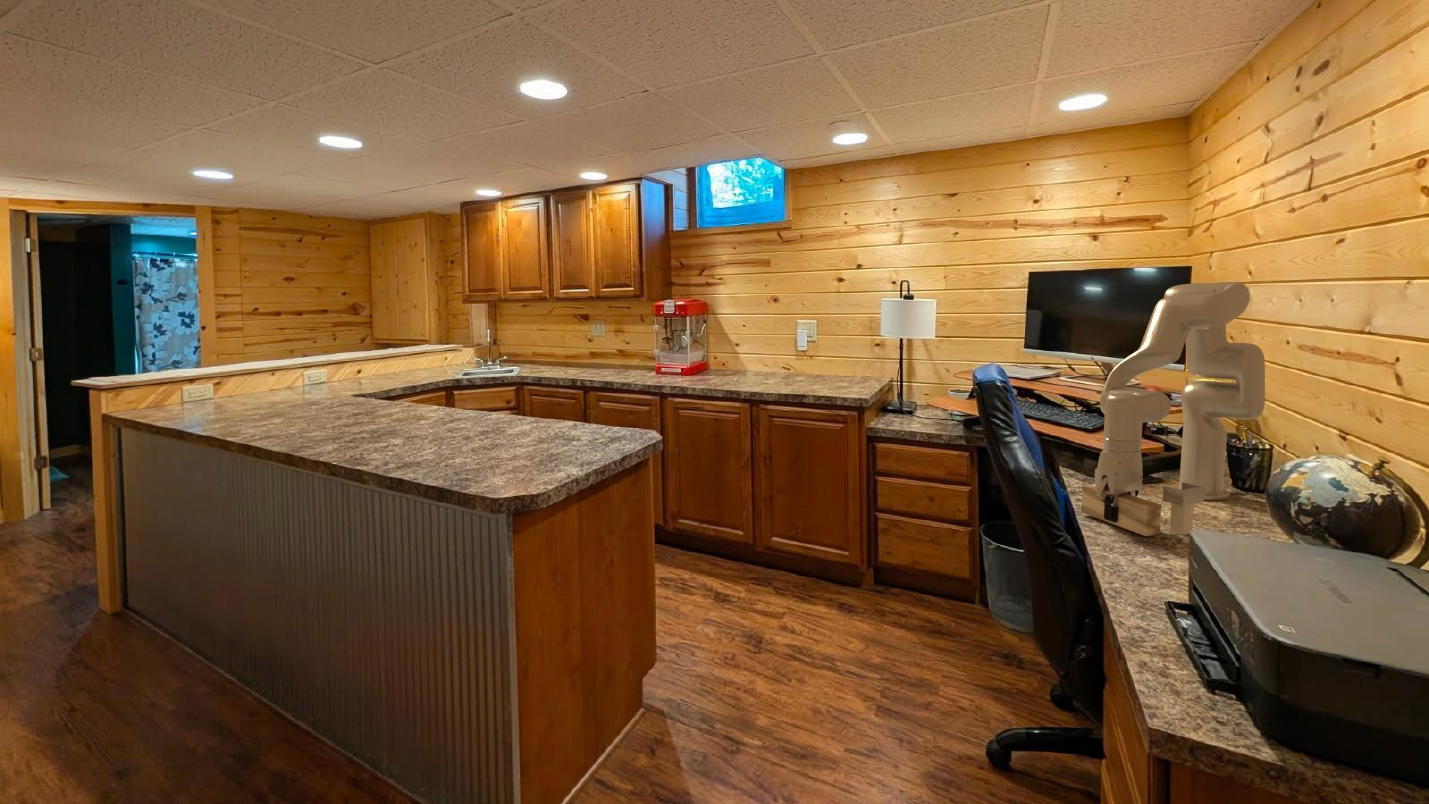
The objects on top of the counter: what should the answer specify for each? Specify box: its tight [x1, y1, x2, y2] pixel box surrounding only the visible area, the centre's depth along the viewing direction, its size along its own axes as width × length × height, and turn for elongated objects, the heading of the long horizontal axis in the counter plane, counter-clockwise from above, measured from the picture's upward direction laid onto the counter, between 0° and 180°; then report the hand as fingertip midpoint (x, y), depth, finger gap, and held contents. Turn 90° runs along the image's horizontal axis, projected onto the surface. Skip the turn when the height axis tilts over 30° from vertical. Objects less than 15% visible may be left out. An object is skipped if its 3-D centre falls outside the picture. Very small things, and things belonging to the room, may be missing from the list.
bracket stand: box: [1094, 468, 1205, 536], centre depth 151 cm, size 7×22×11 cm, turn 19°
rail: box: [1080, 483, 1162, 537], centre depth 149 cm, size 4×18×7 cm, turn 14°
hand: (1118, 518), depth 149 cm, fingers closed on rail, 4 cm apart
